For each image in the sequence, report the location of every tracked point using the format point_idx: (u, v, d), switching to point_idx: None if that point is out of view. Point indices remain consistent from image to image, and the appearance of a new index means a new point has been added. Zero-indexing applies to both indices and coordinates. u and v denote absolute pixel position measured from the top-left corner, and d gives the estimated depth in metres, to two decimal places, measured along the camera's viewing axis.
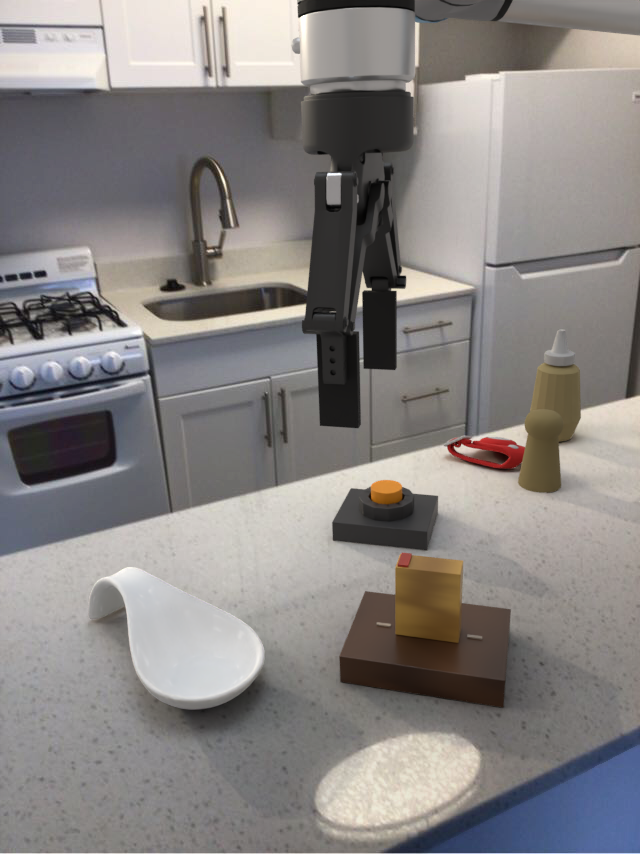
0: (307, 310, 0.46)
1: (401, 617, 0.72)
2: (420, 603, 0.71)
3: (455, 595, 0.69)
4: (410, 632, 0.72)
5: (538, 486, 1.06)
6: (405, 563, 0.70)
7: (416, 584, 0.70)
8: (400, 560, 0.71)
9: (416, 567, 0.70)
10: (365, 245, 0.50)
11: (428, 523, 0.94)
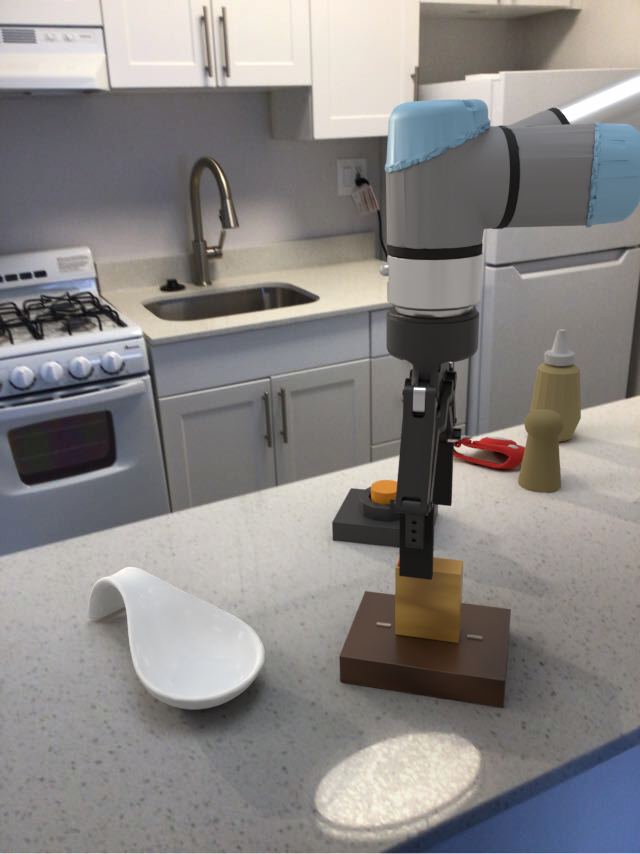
0: (397, 498, 0.58)
1: (401, 617, 0.72)
2: (420, 603, 0.71)
3: (455, 595, 0.69)
4: (410, 632, 0.72)
5: (538, 486, 1.06)
6: None
7: (416, 584, 0.70)
8: None
9: None
10: (439, 433, 0.61)
11: None
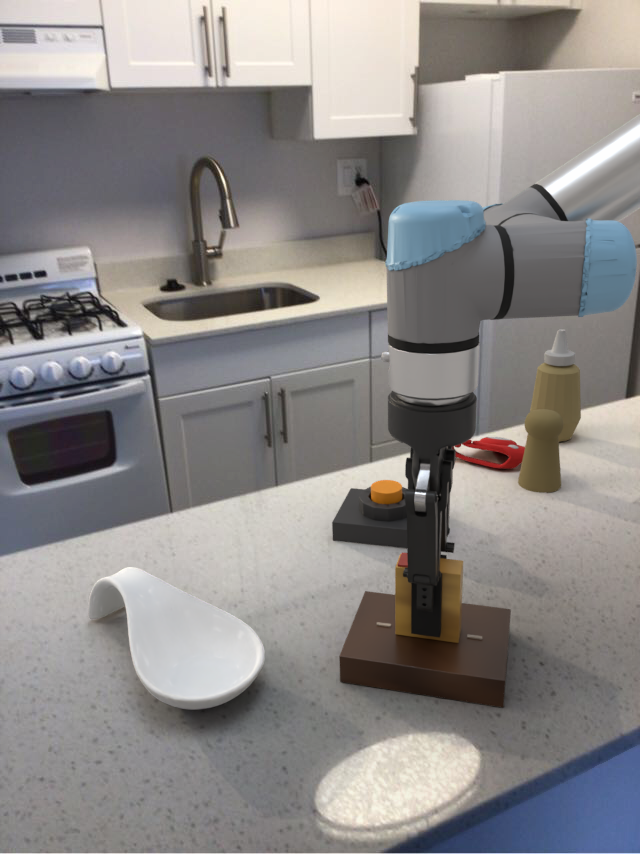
0: (409, 575, 0.65)
1: (401, 617, 0.72)
2: None
3: (455, 595, 0.69)
4: (410, 632, 0.72)
5: (538, 486, 1.06)
6: (405, 563, 0.70)
7: None
8: (400, 560, 0.71)
9: None
10: None
11: None
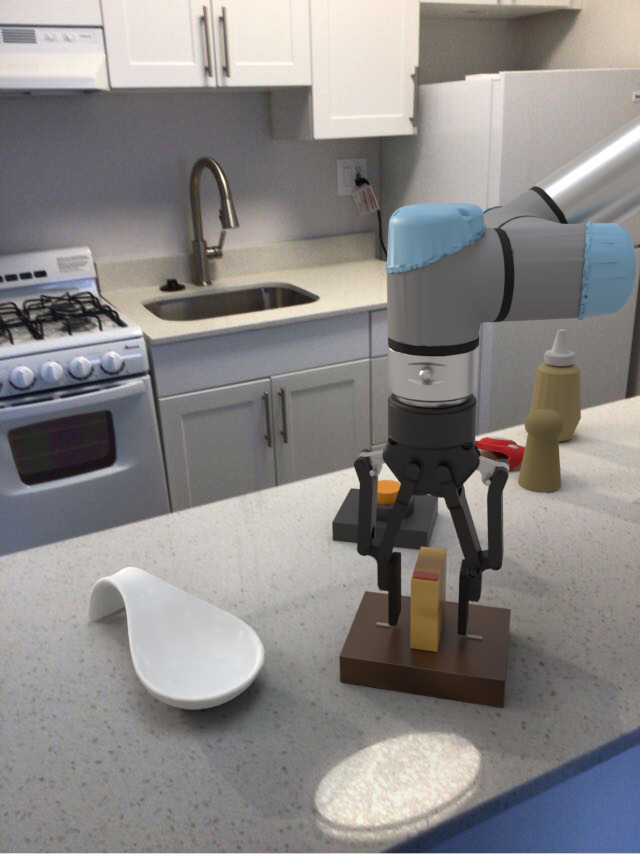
0: (502, 559, 0.67)
1: (438, 629, 0.70)
2: (441, 602, 0.71)
3: (445, 571, 0.73)
4: (439, 638, 0.71)
5: (538, 486, 1.06)
6: (435, 574, 0.68)
7: (441, 585, 0.70)
8: (429, 577, 0.68)
9: (438, 570, 0.69)
10: None
11: (428, 523, 0.94)
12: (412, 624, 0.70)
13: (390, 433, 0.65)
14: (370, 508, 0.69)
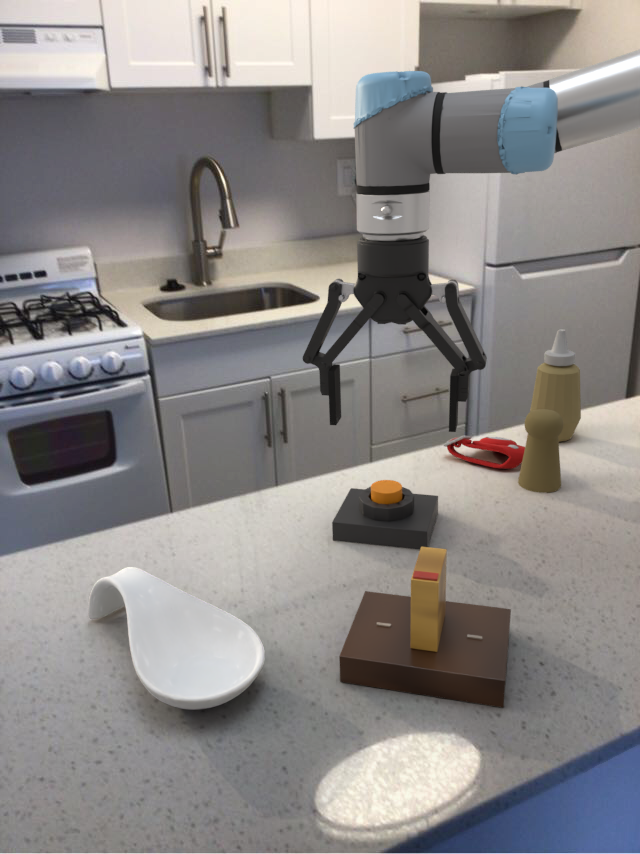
0: (483, 357, 0.80)
1: (438, 629, 0.70)
2: (441, 602, 0.71)
3: (445, 571, 0.73)
4: (439, 638, 0.71)
5: (538, 486, 1.06)
6: (435, 574, 0.68)
7: (441, 585, 0.70)
8: (429, 577, 0.68)
9: (438, 570, 0.69)
10: None
11: (428, 523, 0.94)
12: (412, 624, 0.70)
13: (359, 268, 0.79)
14: (327, 326, 0.83)
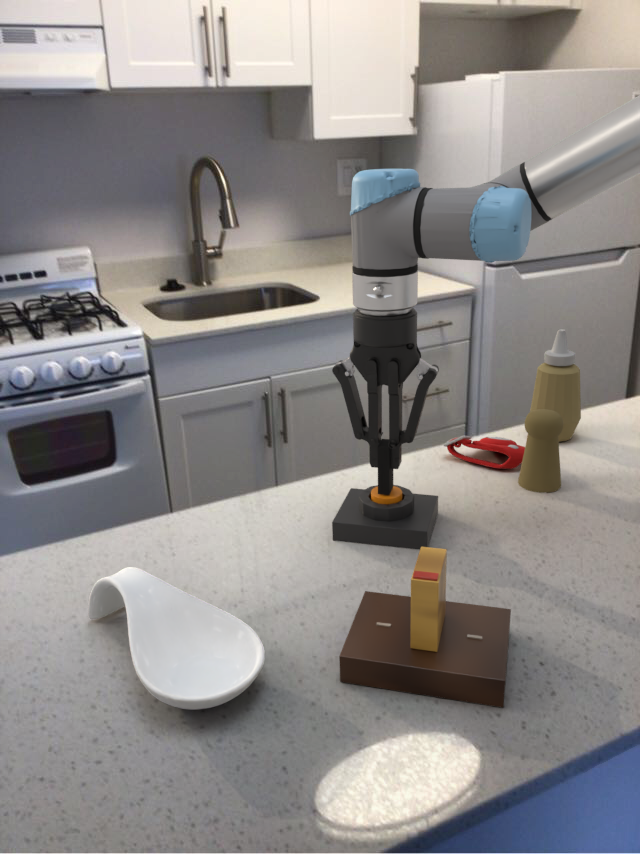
0: (414, 435, 0.92)
1: (438, 629, 0.70)
2: (441, 602, 0.71)
3: (445, 571, 0.73)
4: (439, 638, 0.71)
5: (538, 486, 1.06)
6: (435, 574, 0.68)
7: (441, 585, 0.70)
8: (429, 577, 0.68)
9: (438, 570, 0.69)
10: None
11: (428, 523, 0.94)
12: (412, 624, 0.70)
13: (354, 337, 0.89)
14: (353, 401, 0.92)
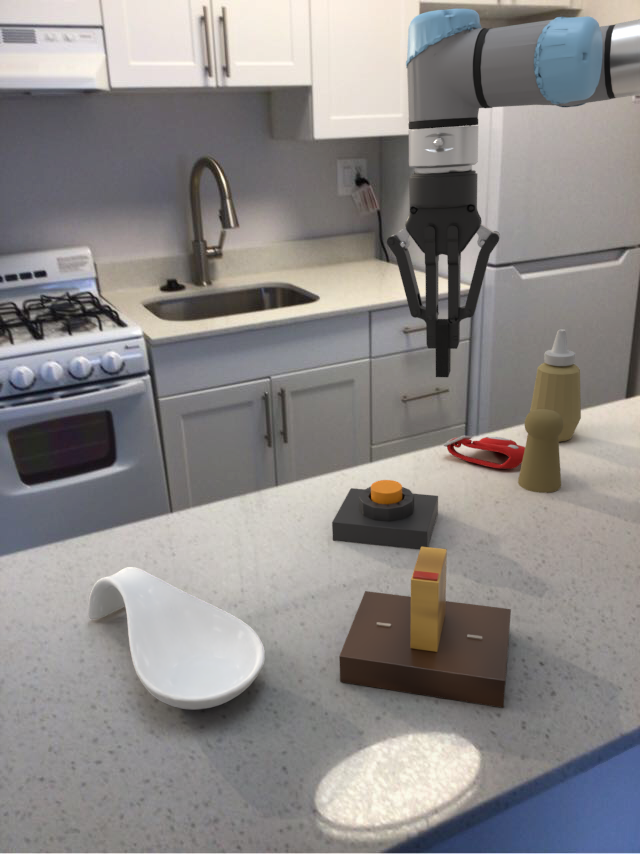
0: None
1: (438, 629, 0.70)
2: (441, 602, 0.71)
3: (445, 571, 0.73)
4: (439, 638, 0.71)
5: (538, 486, 1.06)
6: (435, 574, 0.68)
7: (441, 585, 0.70)
8: (429, 577, 0.68)
9: (438, 570, 0.69)
10: None
11: (428, 523, 0.94)
12: (412, 624, 0.70)
13: (411, 201, 0.84)
14: (410, 274, 0.88)
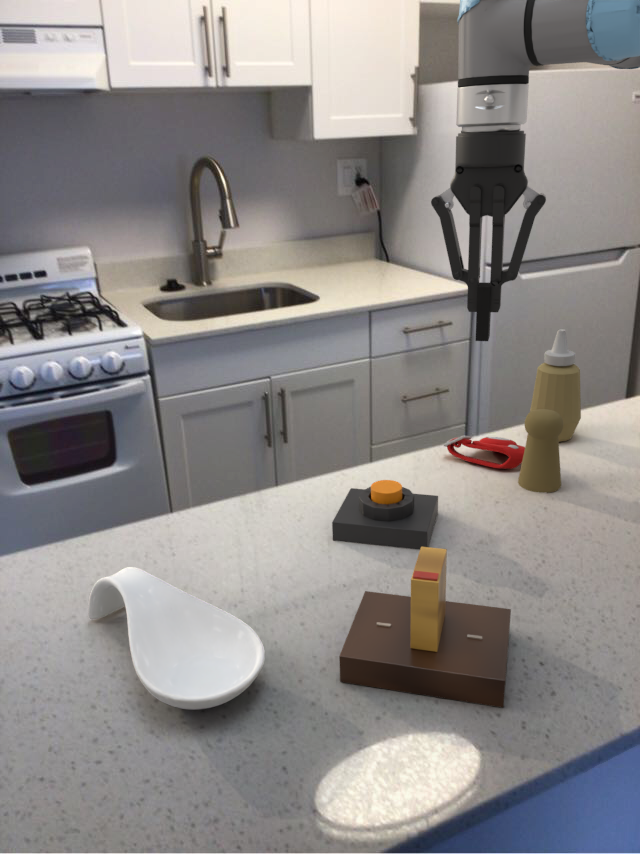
0: None
1: (438, 629, 0.70)
2: (441, 602, 0.71)
3: (445, 571, 0.73)
4: (439, 638, 0.71)
5: (538, 486, 1.06)
6: (435, 574, 0.68)
7: (441, 585, 0.70)
8: (429, 577, 0.68)
9: (438, 570, 0.69)
10: None
11: (428, 523, 0.94)
12: (412, 624, 0.70)
13: (458, 161, 0.83)
14: (453, 236, 0.87)
